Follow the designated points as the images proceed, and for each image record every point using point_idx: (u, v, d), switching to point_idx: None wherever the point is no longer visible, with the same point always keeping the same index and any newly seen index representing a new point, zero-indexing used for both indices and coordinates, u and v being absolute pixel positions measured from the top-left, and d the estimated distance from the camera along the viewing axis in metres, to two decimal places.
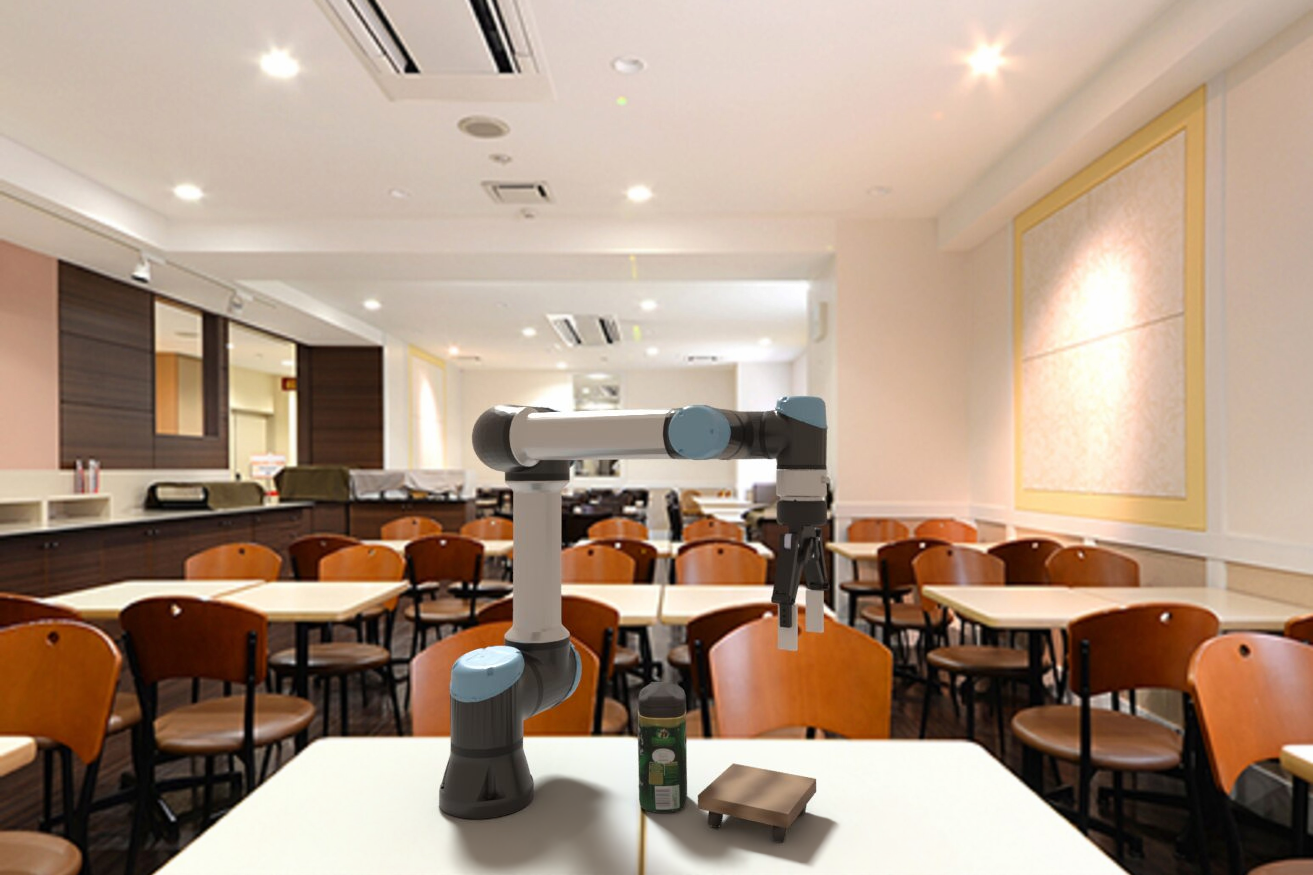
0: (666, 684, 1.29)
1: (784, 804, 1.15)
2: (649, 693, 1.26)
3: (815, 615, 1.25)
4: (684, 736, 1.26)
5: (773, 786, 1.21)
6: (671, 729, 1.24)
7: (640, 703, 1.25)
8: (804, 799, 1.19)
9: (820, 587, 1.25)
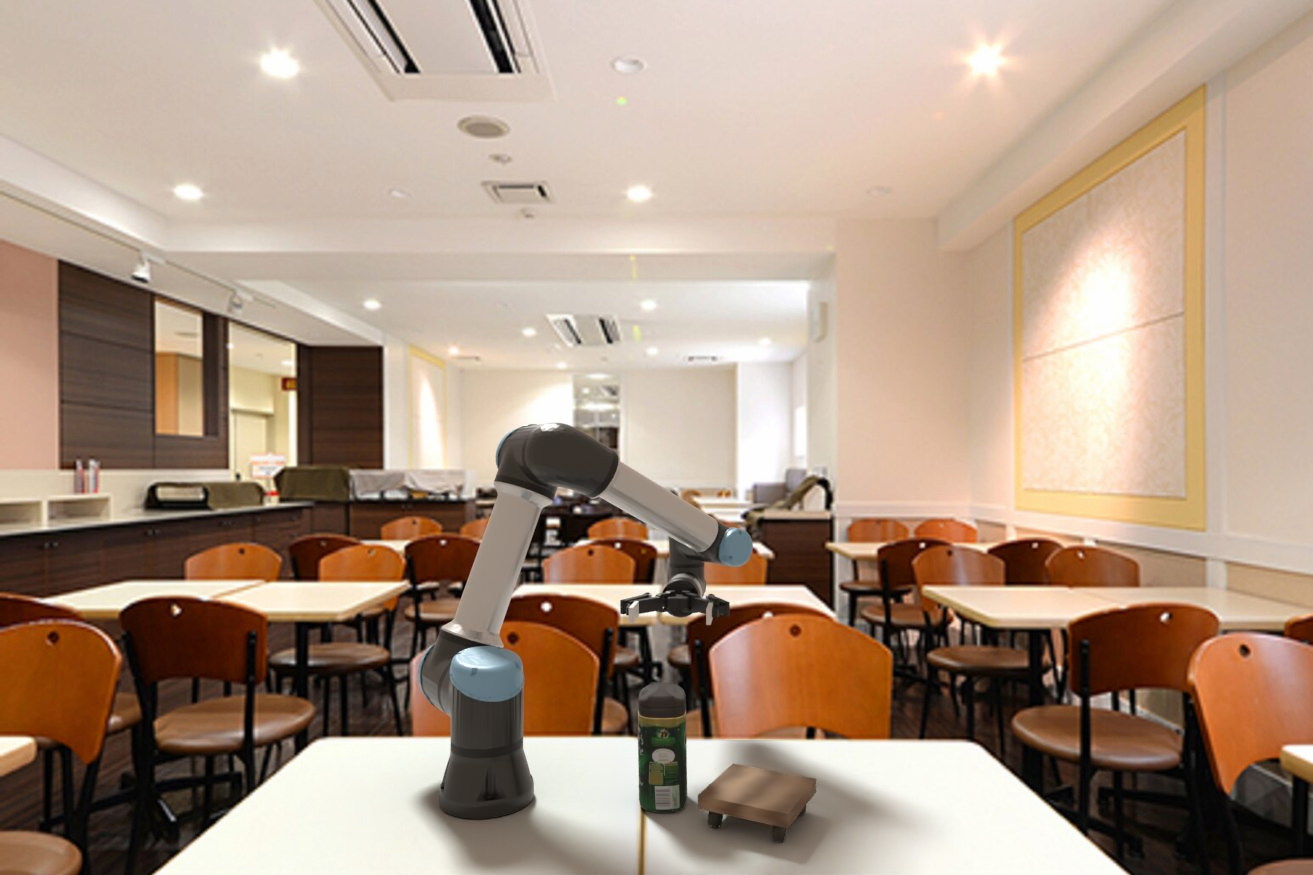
0: (666, 684, 1.29)
1: (784, 804, 1.15)
2: (649, 693, 1.26)
3: (635, 613, 1.41)
4: (684, 736, 1.26)
5: (773, 786, 1.21)
6: (671, 729, 1.24)
7: (640, 703, 1.25)
8: (804, 799, 1.19)
9: None
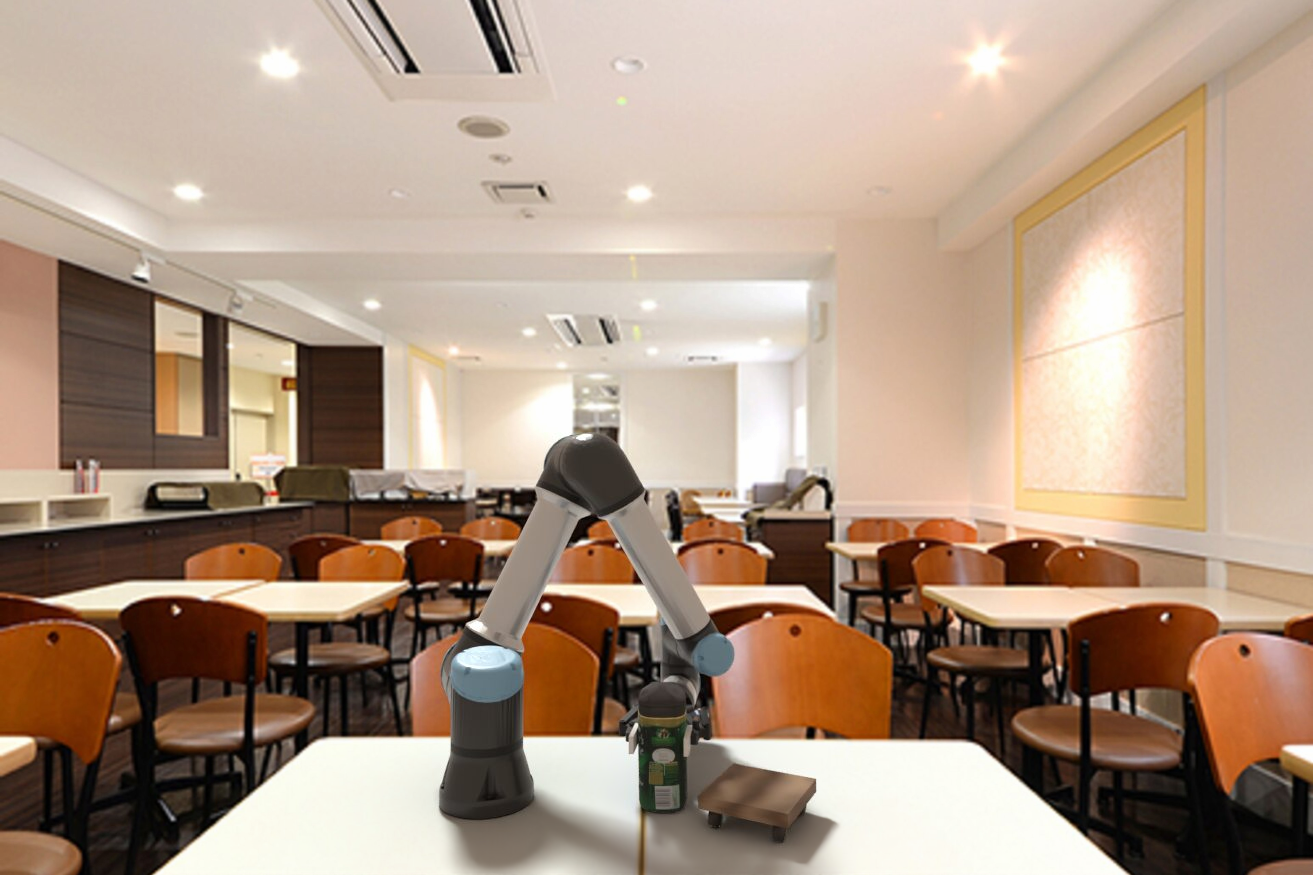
0: (666, 684, 1.29)
1: (784, 804, 1.15)
2: (649, 693, 1.26)
3: (636, 741, 1.26)
4: None
5: (773, 786, 1.21)
6: (671, 729, 1.24)
7: (640, 703, 1.25)
8: (804, 799, 1.19)
9: None
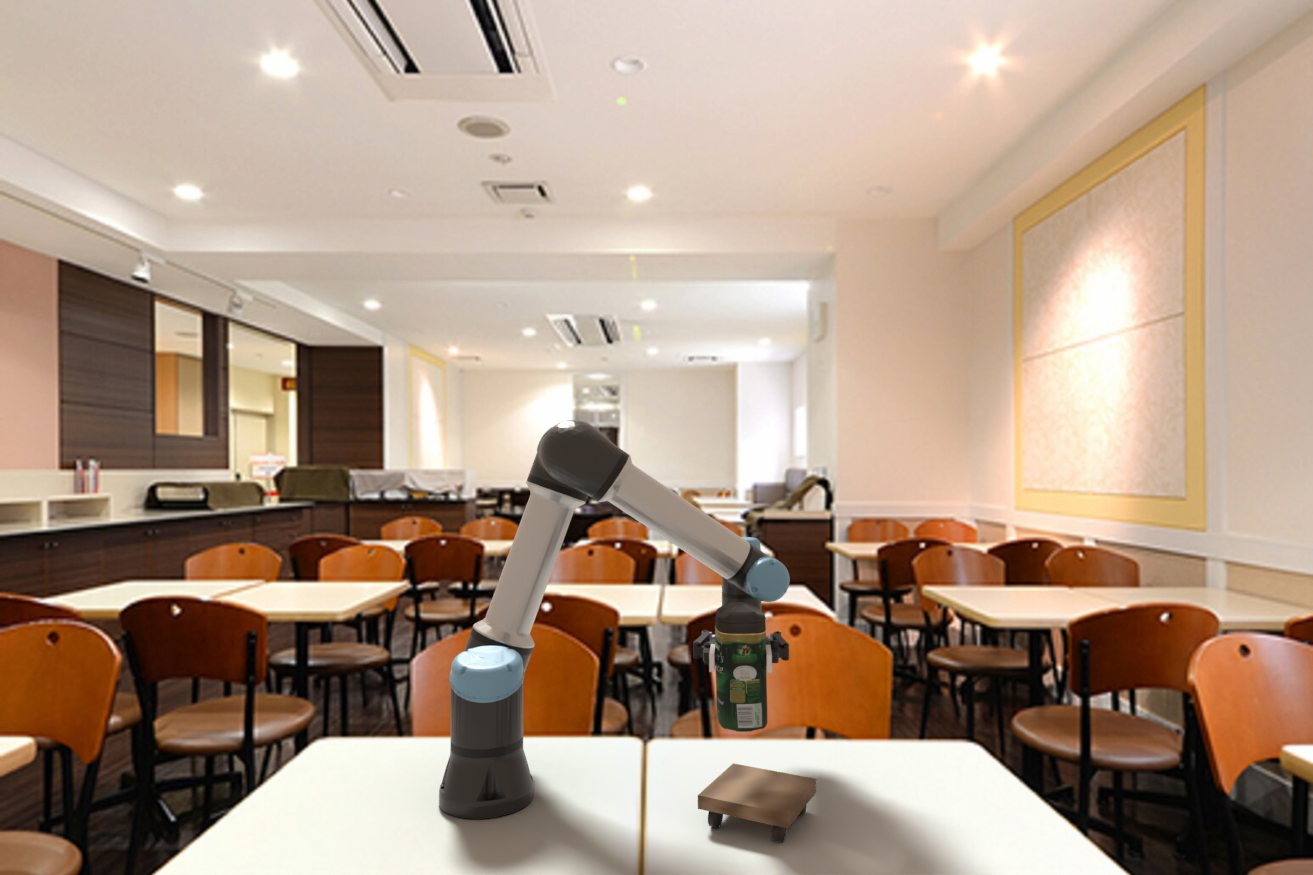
0: (743, 603, 1.25)
1: (784, 804, 1.15)
2: (728, 610, 1.22)
3: None
4: (765, 654, 1.22)
5: (773, 786, 1.21)
6: (753, 646, 1.20)
7: (720, 620, 1.21)
8: (804, 799, 1.19)
9: None
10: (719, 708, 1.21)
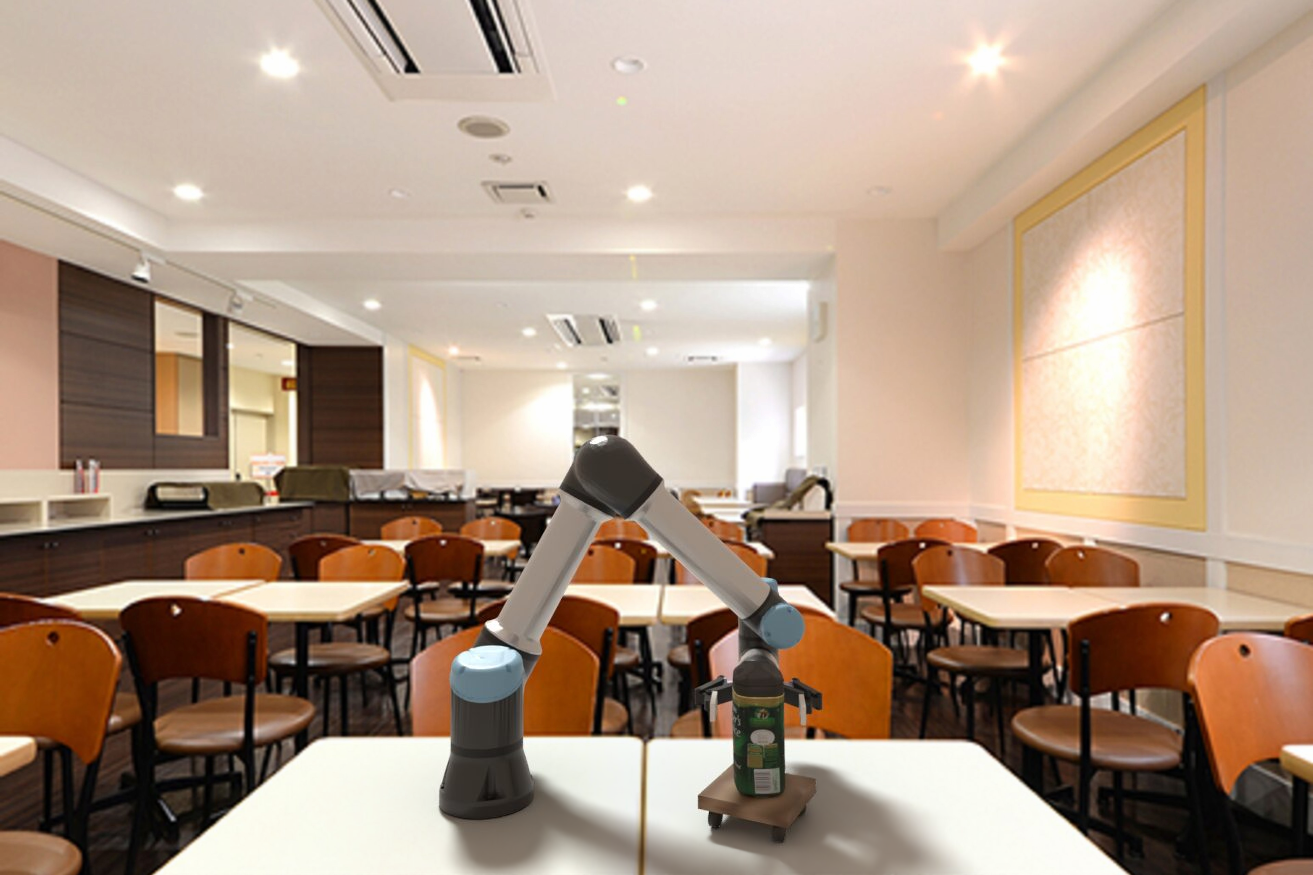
0: (761, 663, 1.23)
1: (784, 804, 1.15)
2: (746, 672, 1.20)
3: None
4: (783, 717, 1.19)
5: None
6: (771, 709, 1.17)
7: (737, 682, 1.19)
8: (804, 799, 1.19)
9: None
10: (736, 772, 1.19)
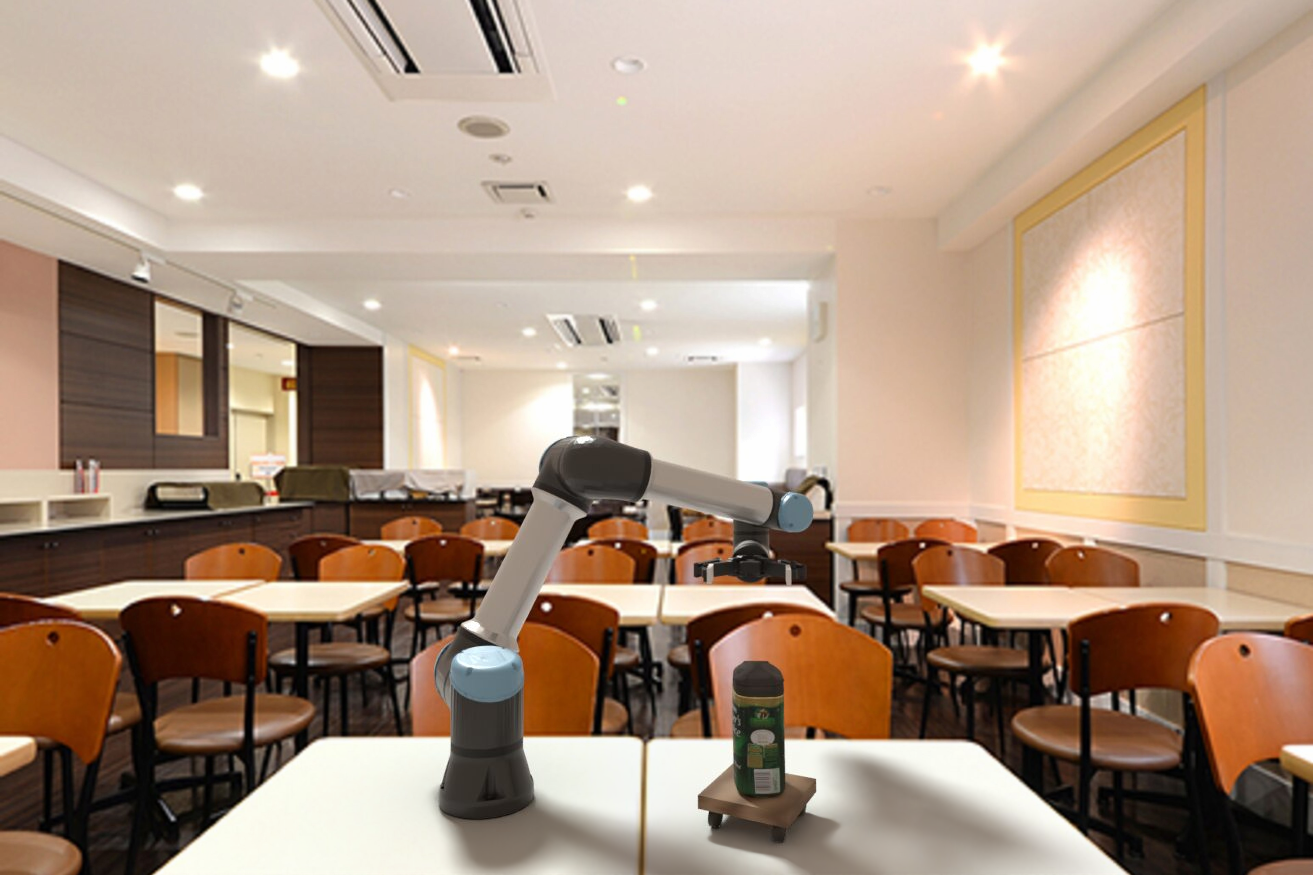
0: (761, 663, 1.23)
1: (784, 804, 1.15)
2: (746, 672, 1.20)
3: None
4: (783, 717, 1.19)
5: None
6: (771, 709, 1.17)
7: (737, 682, 1.19)
8: (804, 799, 1.19)
9: None
10: (736, 772, 1.19)
